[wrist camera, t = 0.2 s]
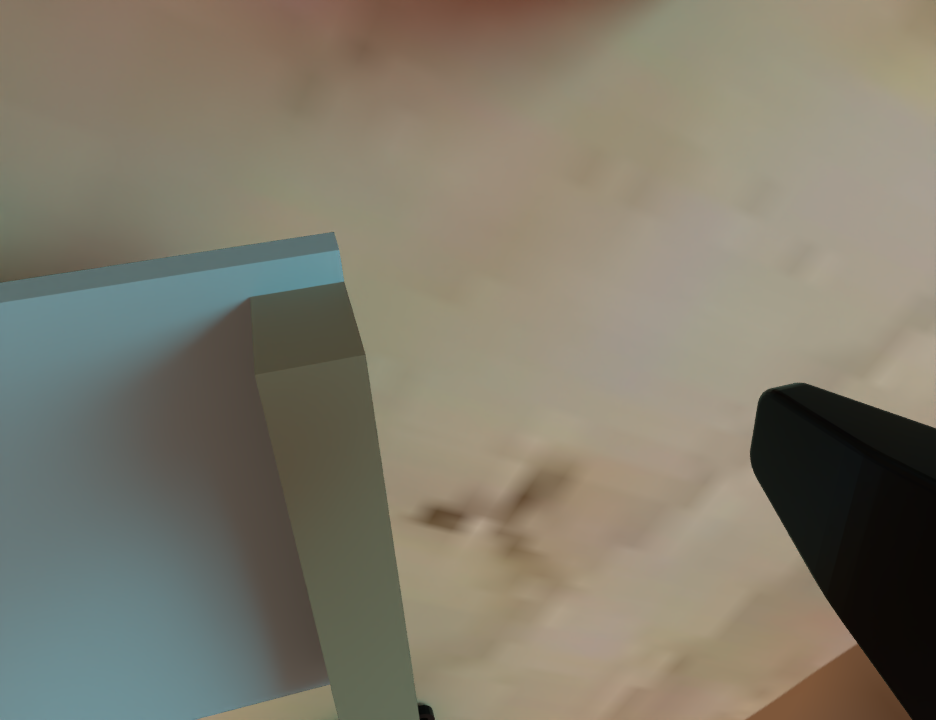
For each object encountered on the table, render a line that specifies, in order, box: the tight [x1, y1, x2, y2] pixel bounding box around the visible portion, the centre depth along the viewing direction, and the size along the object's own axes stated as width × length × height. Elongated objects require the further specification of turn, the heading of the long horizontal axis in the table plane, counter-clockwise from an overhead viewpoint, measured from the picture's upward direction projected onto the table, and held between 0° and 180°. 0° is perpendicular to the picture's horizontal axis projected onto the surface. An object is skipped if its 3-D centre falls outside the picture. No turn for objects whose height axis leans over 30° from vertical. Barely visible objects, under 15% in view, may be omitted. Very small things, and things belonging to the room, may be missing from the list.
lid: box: [0, 232, 420, 720], centre depth 14 cm, size 11×14×3 cm
